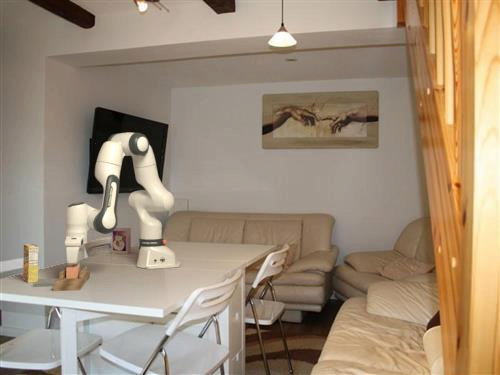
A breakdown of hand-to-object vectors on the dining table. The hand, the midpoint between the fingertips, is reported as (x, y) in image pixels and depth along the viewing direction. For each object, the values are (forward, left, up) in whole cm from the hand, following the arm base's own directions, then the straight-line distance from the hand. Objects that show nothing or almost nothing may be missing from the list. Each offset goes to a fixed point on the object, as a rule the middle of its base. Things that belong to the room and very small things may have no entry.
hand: (76, 271), depth 187 cm
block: (0, +7, -1) cm, 7 cm away
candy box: (+18, -1, -4) cm, 19 cm away
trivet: (+10, +6, -4) cm, 12 cm away
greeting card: (-13, -76, -4) cm, 77 cm away
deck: (0, +7, -4) cm, 8 cm away
